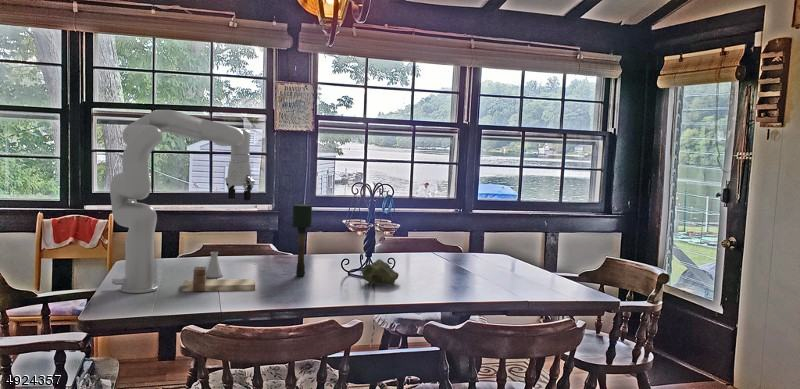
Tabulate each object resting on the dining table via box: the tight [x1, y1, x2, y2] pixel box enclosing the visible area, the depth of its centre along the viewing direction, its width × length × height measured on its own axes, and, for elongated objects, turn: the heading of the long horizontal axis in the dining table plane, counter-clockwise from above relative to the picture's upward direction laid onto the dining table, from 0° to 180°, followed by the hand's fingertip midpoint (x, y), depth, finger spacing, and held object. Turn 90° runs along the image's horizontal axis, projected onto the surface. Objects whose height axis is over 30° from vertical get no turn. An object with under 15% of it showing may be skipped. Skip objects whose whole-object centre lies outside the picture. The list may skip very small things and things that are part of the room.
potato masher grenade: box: [291, 203, 313, 277], centre depth 253 cm, size 8×9×30 cm
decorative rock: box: [361, 258, 399, 286], centre depth 244 cm, size 15×16×10 cm
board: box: [181, 278, 256, 292], centre depth 228 cm, size 26×10×2 cm, turn 104°
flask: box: [206, 251, 223, 279], centre depth 246 cm, size 7×7×10 cm
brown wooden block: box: [192, 266, 207, 292], centre depth 226 cm, size 4×14×8 cm, turn 14°
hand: (239, 199), depth 254 cm, fingers open, 9 cm apart
